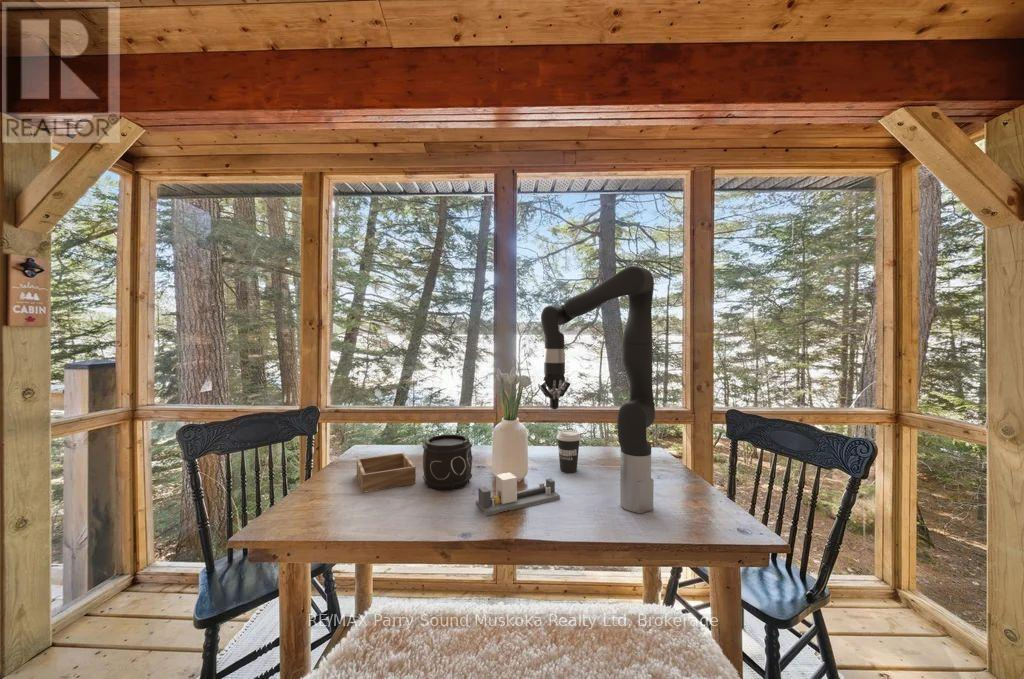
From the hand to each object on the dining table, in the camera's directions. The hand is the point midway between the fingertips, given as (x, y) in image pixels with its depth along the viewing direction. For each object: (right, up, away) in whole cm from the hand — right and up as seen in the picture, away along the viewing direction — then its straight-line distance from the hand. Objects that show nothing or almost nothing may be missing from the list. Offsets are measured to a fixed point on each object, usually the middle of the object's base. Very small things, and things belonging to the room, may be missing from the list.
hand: (554, 408), depth 143 cm
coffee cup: (+7, -27, +13) cm, 31 cm away
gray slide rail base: (-13, -27, -15) cm, 34 cm away
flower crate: (-63, -27, +4) cm, 68 cm away
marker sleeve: (-17, -26, -17) cm, 36 cm away
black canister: (-38, -27, +1) cm, 47 cm away
